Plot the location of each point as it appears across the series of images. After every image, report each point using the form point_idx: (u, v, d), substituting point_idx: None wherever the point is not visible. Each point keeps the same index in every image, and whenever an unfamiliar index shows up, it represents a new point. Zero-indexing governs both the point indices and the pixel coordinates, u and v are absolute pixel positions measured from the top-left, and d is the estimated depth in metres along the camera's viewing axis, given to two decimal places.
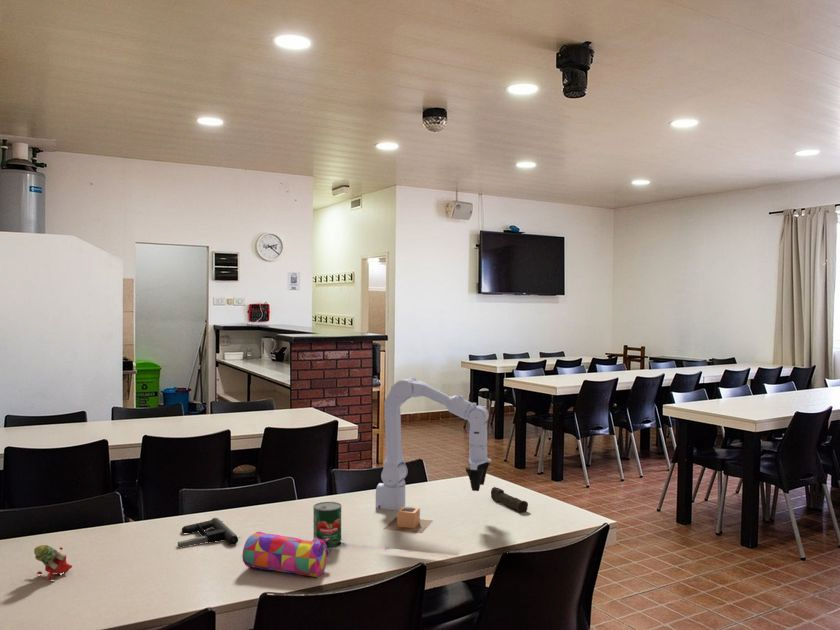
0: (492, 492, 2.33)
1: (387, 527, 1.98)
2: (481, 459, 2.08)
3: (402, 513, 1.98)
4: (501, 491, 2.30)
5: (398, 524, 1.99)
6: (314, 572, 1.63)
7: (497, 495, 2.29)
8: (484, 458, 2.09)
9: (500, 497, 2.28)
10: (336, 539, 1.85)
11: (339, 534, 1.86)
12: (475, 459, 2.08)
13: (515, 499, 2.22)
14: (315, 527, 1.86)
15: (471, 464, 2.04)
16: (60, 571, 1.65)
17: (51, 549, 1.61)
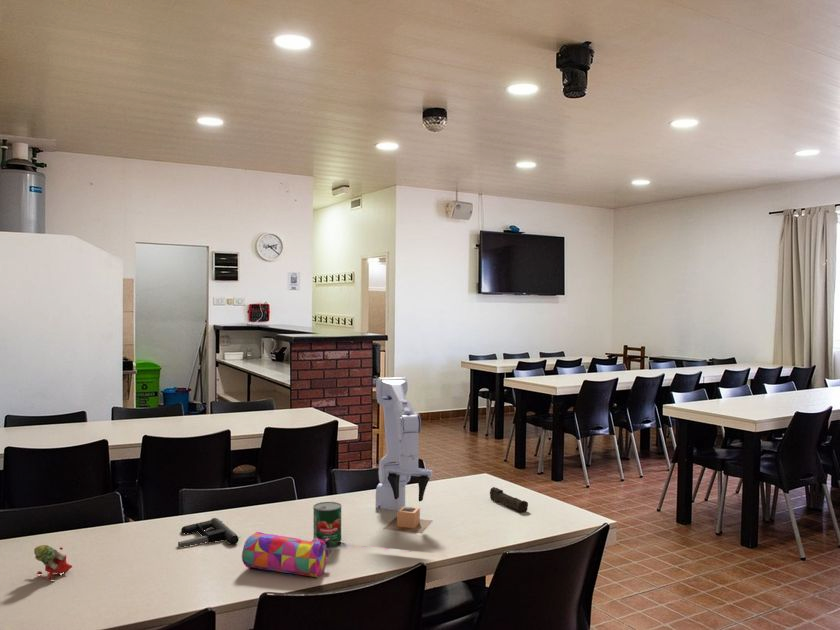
0: (491, 492, 2.33)
1: (387, 527, 1.98)
2: (399, 468, 2.00)
3: (402, 513, 1.98)
4: (500, 491, 2.29)
5: (398, 524, 1.99)
6: (314, 572, 1.63)
7: (497, 495, 2.29)
8: (401, 468, 1.99)
9: (499, 498, 2.28)
10: (336, 539, 1.85)
11: (339, 534, 1.86)
12: None
13: (515, 499, 2.21)
14: (315, 527, 1.86)
15: None
16: (60, 571, 1.65)
17: (51, 549, 1.61)
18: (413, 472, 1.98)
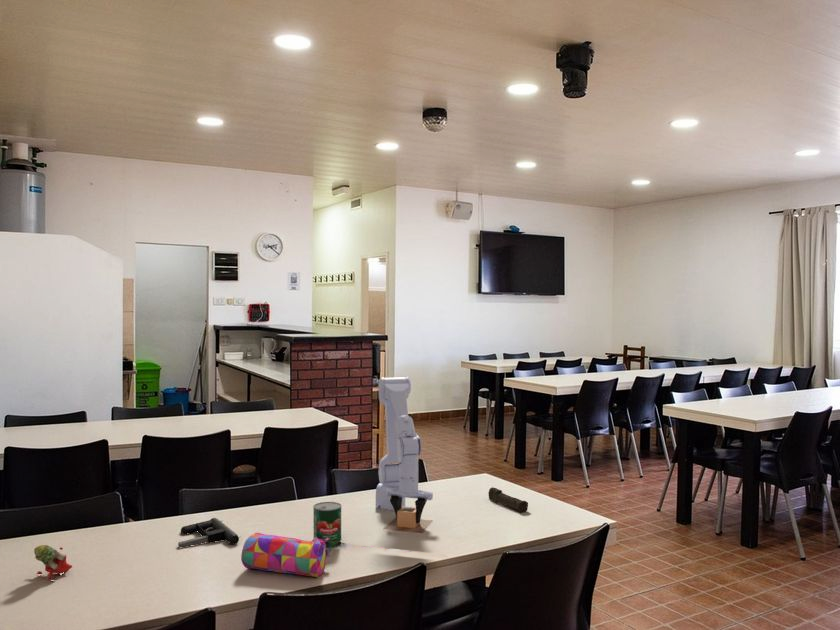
0: (490, 492, 2.32)
1: (387, 527, 1.98)
2: (399, 490, 2.00)
3: (402, 513, 1.98)
4: (499, 491, 2.29)
5: (398, 524, 1.99)
6: (315, 572, 1.63)
7: (496, 495, 2.29)
8: (401, 491, 1.99)
9: (499, 498, 2.27)
10: (336, 539, 1.85)
11: (339, 534, 1.86)
12: None
13: (515, 499, 2.21)
14: (315, 527, 1.86)
15: None
16: (60, 571, 1.65)
17: (51, 549, 1.61)
18: (413, 494, 1.98)
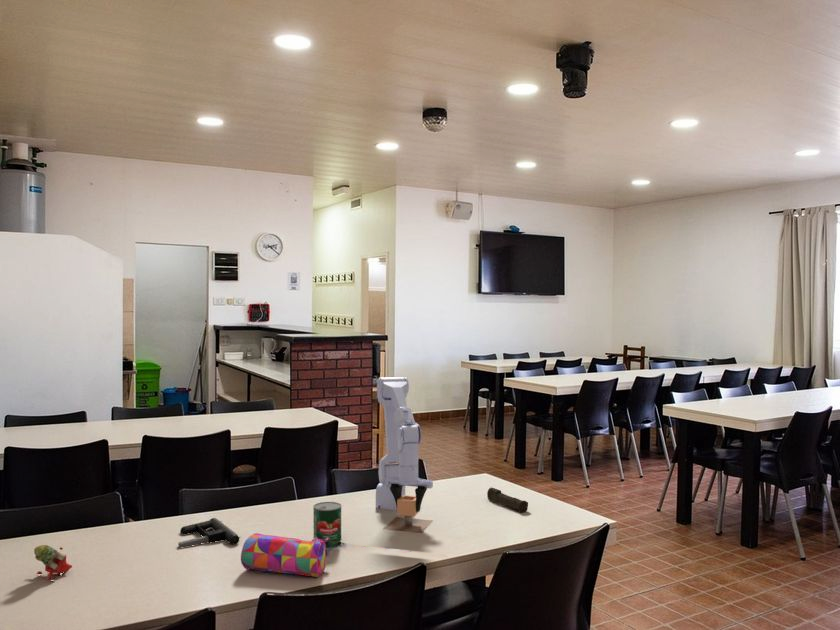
0: (489, 493, 2.32)
1: (387, 527, 1.98)
2: (399, 479, 2.00)
3: (402, 501, 1.98)
4: (499, 491, 2.29)
5: (398, 512, 1.99)
6: (315, 572, 1.63)
7: (495, 495, 2.29)
8: (401, 479, 1.99)
9: (498, 498, 2.27)
10: (336, 539, 1.85)
11: (339, 534, 1.86)
12: None
13: (515, 499, 2.21)
14: (315, 527, 1.86)
15: None
16: (60, 571, 1.65)
17: (51, 549, 1.61)
18: (413, 483, 1.98)
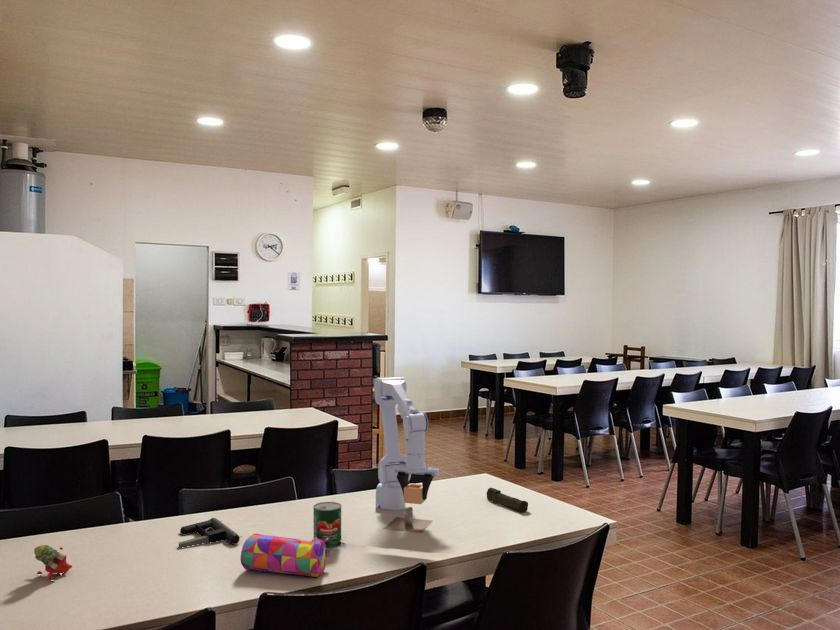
0: (488, 493, 2.32)
1: (387, 527, 1.98)
2: (406, 467, 2.00)
3: (409, 489, 1.99)
4: (498, 491, 2.29)
5: (405, 500, 1.99)
6: (315, 572, 1.63)
7: (495, 495, 2.28)
8: (408, 467, 1.99)
9: (498, 498, 2.27)
10: (336, 539, 1.85)
11: (339, 534, 1.86)
12: None
13: (515, 499, 2.21)
14: (315, 527, 1.86)
15: None
16: (60, 571, 1.65)
17: (51, 549, 1.61)
18: (419, 471, 1.98)
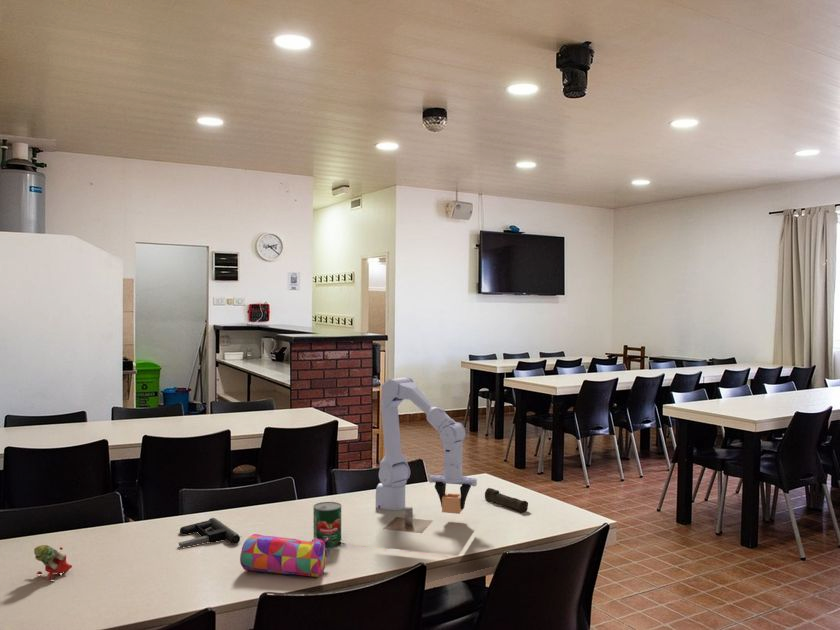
0: (487, 493, 2.31)
1: (387, 527, 1.98)
2: (444, 477, 2.03)
3: (447, 499, 2.02)
4: (497, 492, 2.29)
5: (443, 510, 2.02)
6: (316, 572, 1.63)
7: (494, 496, 2.28)
8: (446, 477, 2.02)
9: (497, 498, 2.27)
10: (336, 539, 1.85)
11: (339, 534, 1.86)
12: None
13: (515, 499, 2.21)
14: (315, 527, 1.86)
15: None
16: (60, 571, 1.65)
17: (51, 549, 1.61)
18: (458, 481, 2.01)
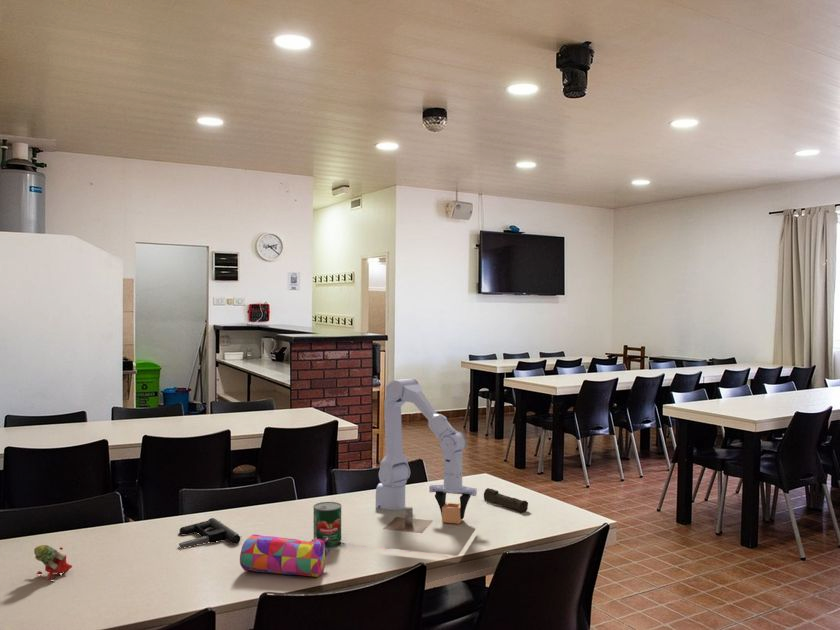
0: (486, 493, 2.31)
1: (387, 527, 1.98)
2: (444, 486, 2.03)
3: (447, 509, 2.02)
4: (496, 492, 2.28)
5: (443, 520, 2.02)
6: (316, 572, 1.63)
7: (493, 496, 2.28)
8: (446, 487, 2.02)
9: (496, 498, 2.27)
10: (336, 539, 1.85)
11: (339, 534, 1.86)
12: None
13: (514, 499, 2.21)
14: (315, 527, 1.86)
15: None
16: (60, 571, 1.65)
17: (51, 549, 1.61)
18: (458, 490, 2.01)
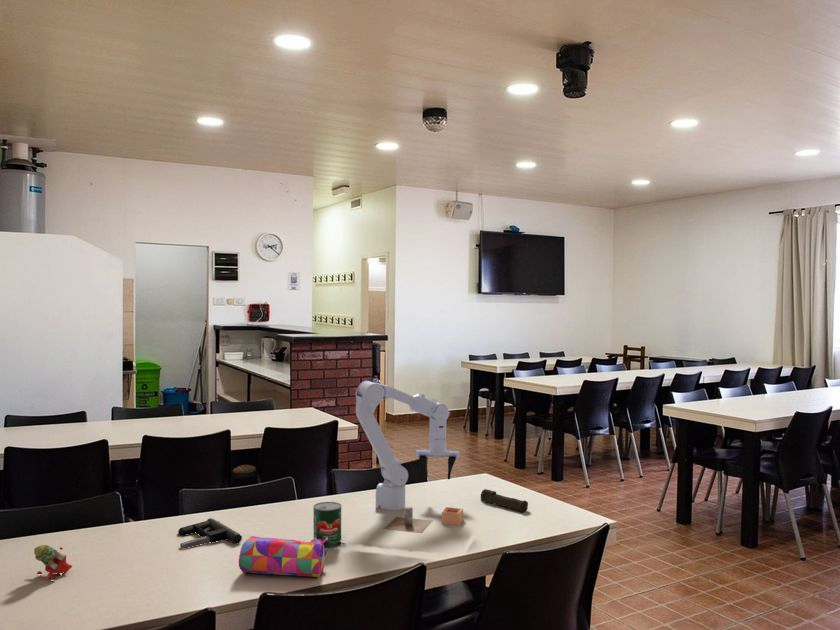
0: (483, 494, 2.30)
1: (387, 527, 1.98)
2: (430, 450, 2.24)
3: (447, 514, 2.02)
4: (494, 493, 2.28)
5: None
6: (317, 572, 1.63)
7: (491, 497, 2.27)
8: (432, 450, 2.23)
9: (495, 499, 2.26)
10: (336, 539, 1.85)
11: (339, 534, 1.86)
12: (429, 449, 2.26)
13: (514, 499, 2.21)
14: (315, 527, 1.86)
15: (416, 451, 2.26)
16: (60, 571, 1.65)
17: (51, 549, 1.61)
18: (443, 453, 2.22)
